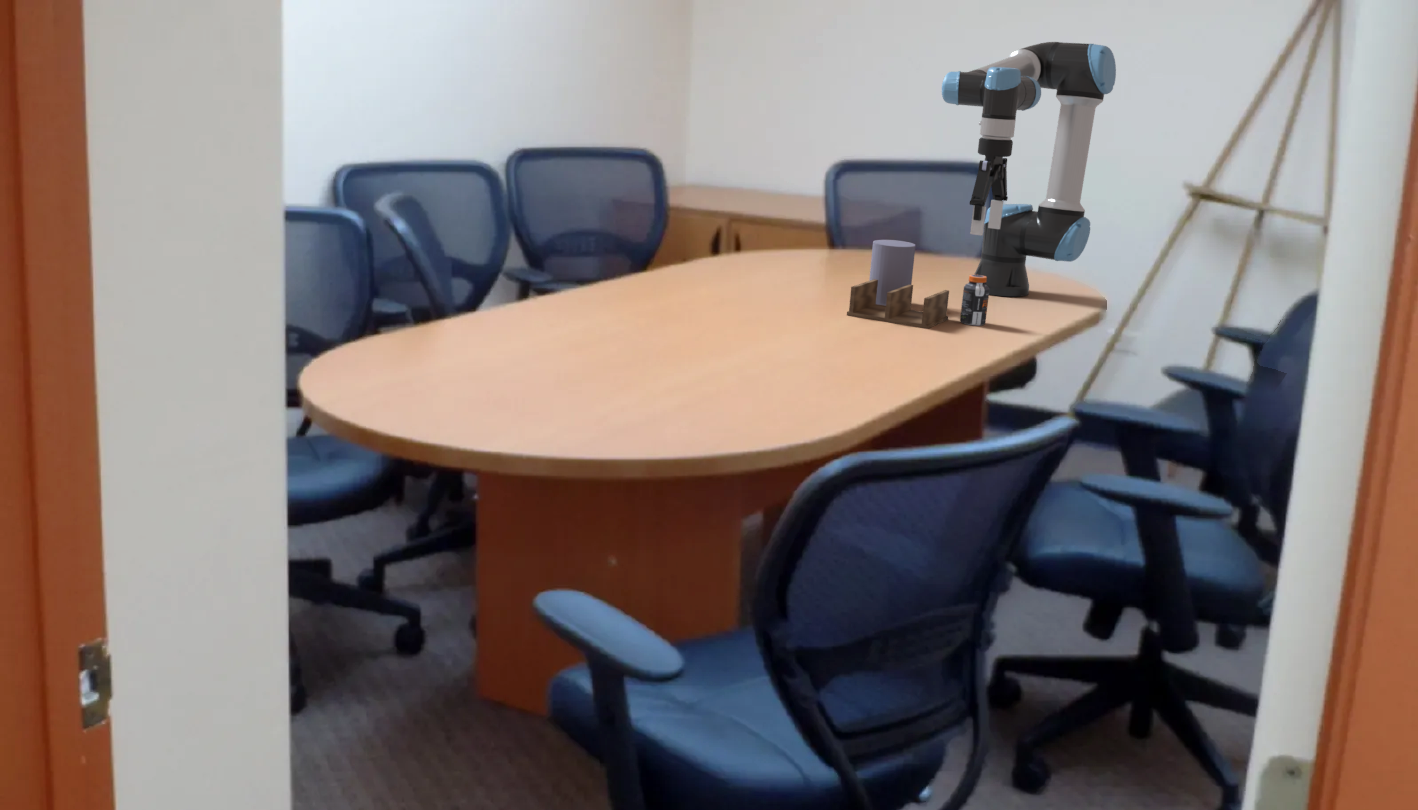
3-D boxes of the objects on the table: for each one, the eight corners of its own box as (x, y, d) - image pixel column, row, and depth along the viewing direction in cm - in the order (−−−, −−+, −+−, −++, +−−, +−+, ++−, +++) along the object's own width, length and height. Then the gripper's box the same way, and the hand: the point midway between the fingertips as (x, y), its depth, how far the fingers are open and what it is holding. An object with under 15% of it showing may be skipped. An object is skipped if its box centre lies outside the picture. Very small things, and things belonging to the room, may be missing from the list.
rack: (869, 306, 329) (872, 278, 327) (948, 319, 319) (951, 290, 318) (846, 315, 317) (849, 286, 315) (927, 328, 308) (930, 299, 306)
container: (872, 297, 340) (878, 238, 336) (913, 302, 337) (919, 242, 333) (862, 304, 330) (868, 243, 326) (904, 309, 327) (910, 248, 323)
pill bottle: (985, 327, 313) (990, 279, 310) (959, 324, 314) (964, 276, 311) (985, 322, 319) (991, 274, 316) (960, 319, 320) (965, 272, 317)
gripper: (996, 133, 317) (985, 224, 323) (963, 138, 296) (952, 235, 301) (1027, 136, 314) (1016, 227, 319) (996, 142, 292) (985, 239, 298)
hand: (985, 231), depth 310 cm, fingers open, 13 cm apart
